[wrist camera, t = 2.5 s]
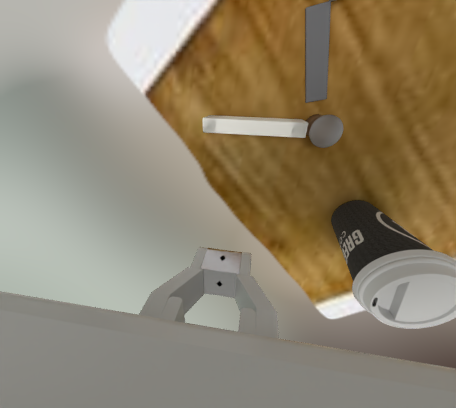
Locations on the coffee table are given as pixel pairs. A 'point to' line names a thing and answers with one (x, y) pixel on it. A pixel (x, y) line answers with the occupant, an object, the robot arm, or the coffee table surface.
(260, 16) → the coffee table surface
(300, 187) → the coffee table surface
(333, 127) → the hinge post
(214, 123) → the white long block
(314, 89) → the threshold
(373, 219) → the coffee cup
